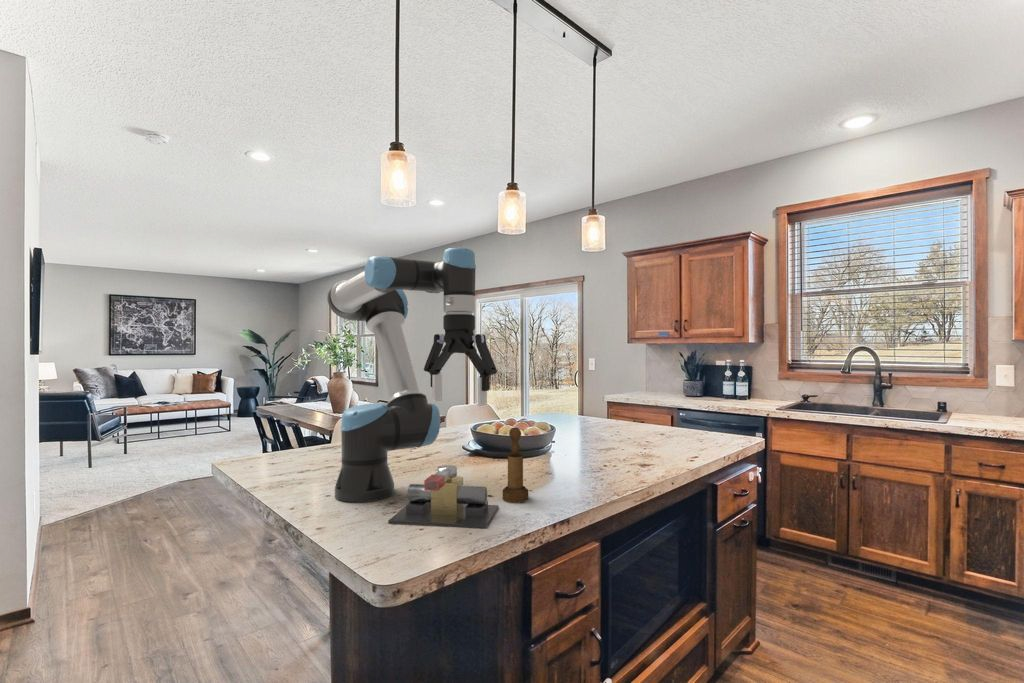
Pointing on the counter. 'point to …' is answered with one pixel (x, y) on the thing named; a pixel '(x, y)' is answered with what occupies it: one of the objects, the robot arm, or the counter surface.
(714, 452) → the counter surface
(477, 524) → the valve
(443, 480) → the lever
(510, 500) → the brown pepper mill
